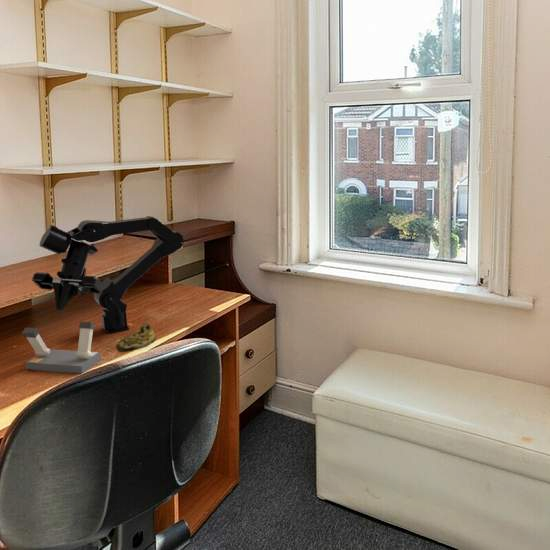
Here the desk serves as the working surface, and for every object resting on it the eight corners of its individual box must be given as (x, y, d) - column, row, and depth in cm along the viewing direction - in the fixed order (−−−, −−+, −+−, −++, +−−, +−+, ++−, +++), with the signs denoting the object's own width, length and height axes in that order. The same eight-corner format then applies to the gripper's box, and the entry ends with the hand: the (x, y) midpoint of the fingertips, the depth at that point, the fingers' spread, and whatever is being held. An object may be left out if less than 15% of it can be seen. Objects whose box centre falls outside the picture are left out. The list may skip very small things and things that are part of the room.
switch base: (47, 355, 151) (46, 348, 151) (101, 359, 148) (100, 352, 147) (26, 369, 143) (25, 361, 142) (82, 373, 139) (81, 365, 139)
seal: (139, 357, 152) (164, 337, 166) (139, 341, 151) (164, 322, 165) (109, 351, 154) (135, 332, 168) (108, 335, 153) (135, 317, 167)
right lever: (79, 357, 144) (83, 322, 146) (90, 358, 144) (94, 323, 145) (75, 357, 143) (79, 321, 144) (86, 358, 142) (91, 322, 143)
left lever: (40, 350, 147) (25, 327, 141) (50, 351, 147) (36, 328, 141) (36, 356, 146) (21, 332, 140) (47, 356, 145) (33, 333, 139)
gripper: (116, 276, 165) (101, 324, 158) (57, 272, 168) (41, 319, 161) (102, 257, 155) (86, 308, 148) (40, 253, 158) (21, 303, 151)
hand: (58, 310), depth 152 cm, fingers closed
